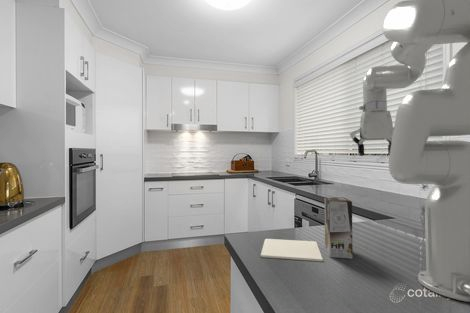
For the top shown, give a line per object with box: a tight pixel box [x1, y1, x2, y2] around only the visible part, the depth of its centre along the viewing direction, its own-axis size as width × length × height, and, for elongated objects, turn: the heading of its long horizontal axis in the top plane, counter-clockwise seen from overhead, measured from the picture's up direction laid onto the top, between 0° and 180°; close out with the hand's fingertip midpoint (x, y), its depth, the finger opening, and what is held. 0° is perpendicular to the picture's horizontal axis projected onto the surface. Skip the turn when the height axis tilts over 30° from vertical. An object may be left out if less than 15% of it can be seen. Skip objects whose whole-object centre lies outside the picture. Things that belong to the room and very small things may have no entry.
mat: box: [260, 238, 324, 262], centre depth 78 cm, size 16×17×1 cm
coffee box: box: [324, 196, 354, 260], centre depth 76 cm, size 9×6×16 cm
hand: (376, 155), depth 91 cm, fingers open, 9 cm apart
